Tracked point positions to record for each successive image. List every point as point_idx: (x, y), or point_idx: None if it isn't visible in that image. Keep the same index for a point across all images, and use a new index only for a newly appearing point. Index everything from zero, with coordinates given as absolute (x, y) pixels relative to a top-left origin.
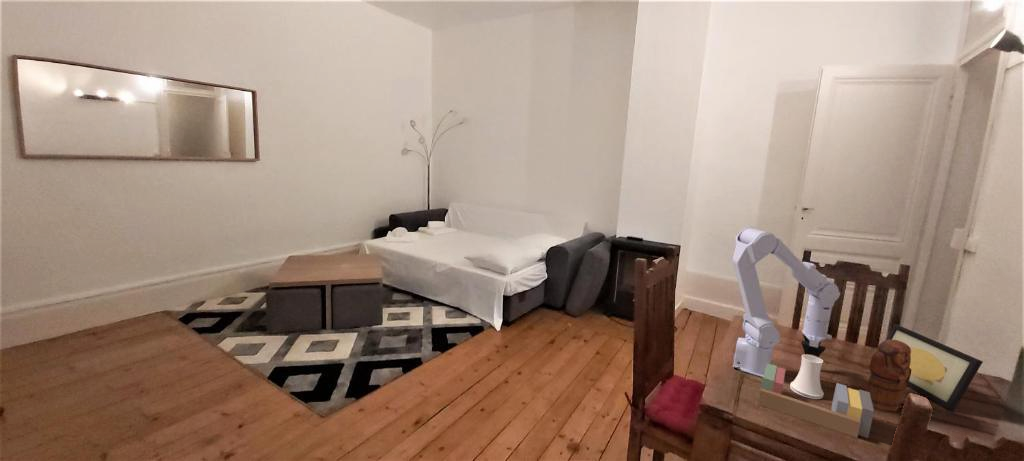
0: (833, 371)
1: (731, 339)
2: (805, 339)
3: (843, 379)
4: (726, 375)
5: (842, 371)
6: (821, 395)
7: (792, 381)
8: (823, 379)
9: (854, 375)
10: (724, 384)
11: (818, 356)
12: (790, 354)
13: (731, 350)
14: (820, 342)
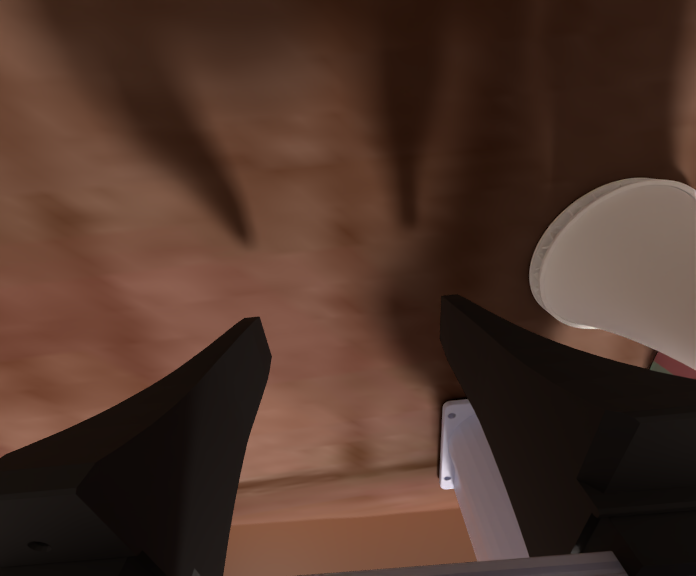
0: (180, 167)
1: (261, 521)
2: (229, 500)
3: (259, 92)
4: None
5: (111, 112)
6: (690, 187)
7: (571, 325)
8: (374, 204)
9: (88, 17)
10: None
11: (554, 344)
12: None
13: (369, 503)
14: (175, 414)
